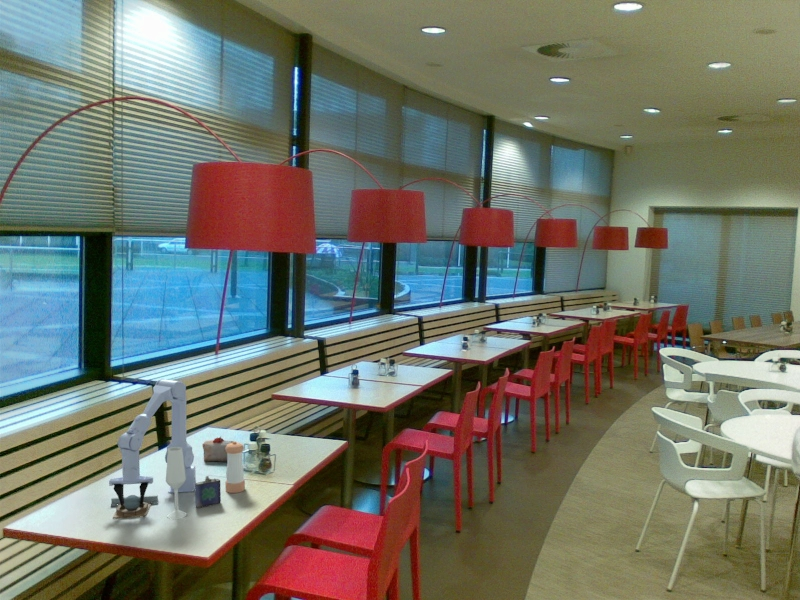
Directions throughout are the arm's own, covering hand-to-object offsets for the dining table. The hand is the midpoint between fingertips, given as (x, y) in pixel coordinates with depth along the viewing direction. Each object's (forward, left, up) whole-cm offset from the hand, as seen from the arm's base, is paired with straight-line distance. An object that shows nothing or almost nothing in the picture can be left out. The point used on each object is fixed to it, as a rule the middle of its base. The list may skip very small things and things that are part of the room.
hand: (132, 503), depth 253 cm
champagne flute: (-16, +6, -3) cm, 17 cm away
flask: (-26, -2, -3) cm, 26 cm away
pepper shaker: (-35, -16, -3) cm, 39 cm away
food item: (-26, -54, -3) cm, 60 cm away
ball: (0, 0, 0) cm, 0 cm away
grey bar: (+1, -7, -3) cm, 8 cm away
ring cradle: (0, 0, -3) cm, 3 cm away
